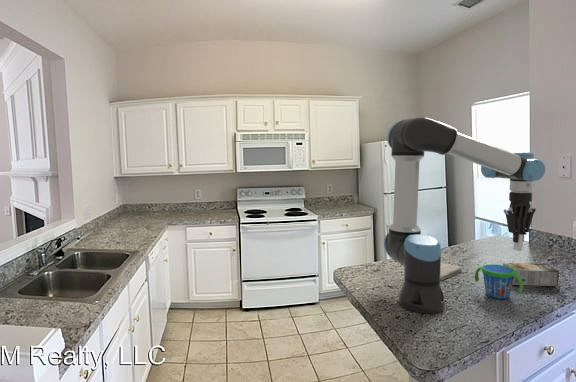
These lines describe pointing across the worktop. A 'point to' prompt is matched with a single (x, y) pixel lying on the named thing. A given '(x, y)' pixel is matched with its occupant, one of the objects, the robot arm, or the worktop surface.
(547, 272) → the coffee box
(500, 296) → the snack cup
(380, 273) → the worktop surface
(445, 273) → the washcloth
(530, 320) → the worktop surface
